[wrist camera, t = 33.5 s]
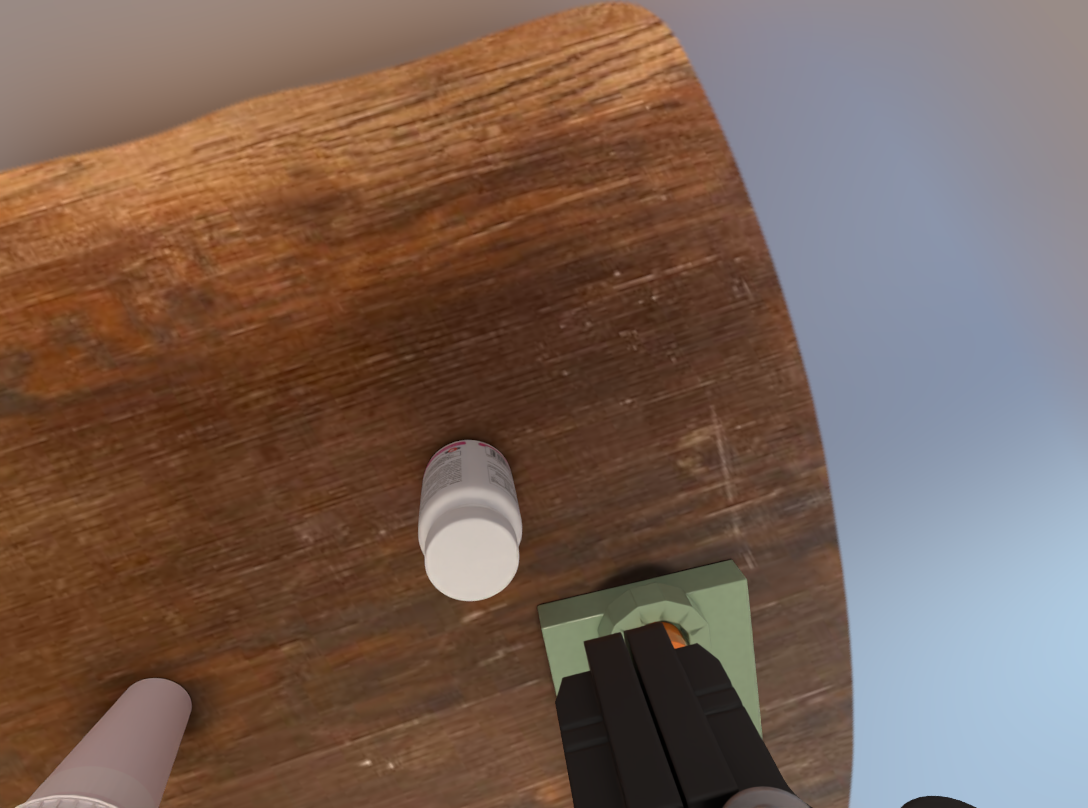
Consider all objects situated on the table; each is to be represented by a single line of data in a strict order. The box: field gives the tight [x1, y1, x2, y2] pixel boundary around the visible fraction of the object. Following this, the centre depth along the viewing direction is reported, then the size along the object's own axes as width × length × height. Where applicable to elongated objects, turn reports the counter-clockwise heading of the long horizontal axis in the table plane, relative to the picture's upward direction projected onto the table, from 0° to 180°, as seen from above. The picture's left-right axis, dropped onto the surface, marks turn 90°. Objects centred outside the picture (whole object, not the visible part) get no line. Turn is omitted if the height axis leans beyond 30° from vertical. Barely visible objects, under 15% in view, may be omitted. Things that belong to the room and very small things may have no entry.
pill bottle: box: [418, 440, 522, 601], centre depth 31 cm, size 5×5×8 cm
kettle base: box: [537, 560, 763, 740], centre depth 39 cm, size 19×12×4 cm, turn 11°
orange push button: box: [648, 622, 687, 649], centre depth 35 cm, size 3×3×2 cm
